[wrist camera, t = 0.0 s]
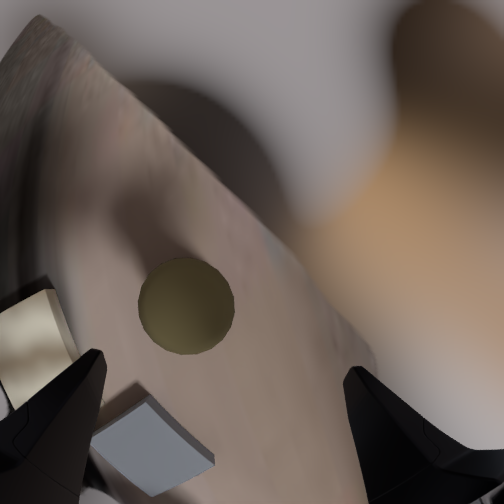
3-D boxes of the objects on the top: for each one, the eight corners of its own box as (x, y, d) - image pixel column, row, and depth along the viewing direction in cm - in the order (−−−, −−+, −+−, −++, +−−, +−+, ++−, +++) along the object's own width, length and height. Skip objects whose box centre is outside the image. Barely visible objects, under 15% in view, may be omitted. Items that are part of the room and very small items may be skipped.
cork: (244, 296, 24) (272, 304, 13) (199, 347, 23) (190, 393, 12) (193, 250, 24) (179, 219, 13) (148, 300, 23) (100, 310, 12)
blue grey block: (214, 452, 22) (214, 465, 19) (154, 484, 20) (151, 497, 18) (151, 392, 22) (145, 402, 19) (95, 430, 20) (86, 440, 18)
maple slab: (104, 403, 20) (97, 410, 18) (32, 420, 18) (24, 426, 16) (55, 289, 21) (44, 288, 19) (-9, 323, 19) (-20, 324, 17)
